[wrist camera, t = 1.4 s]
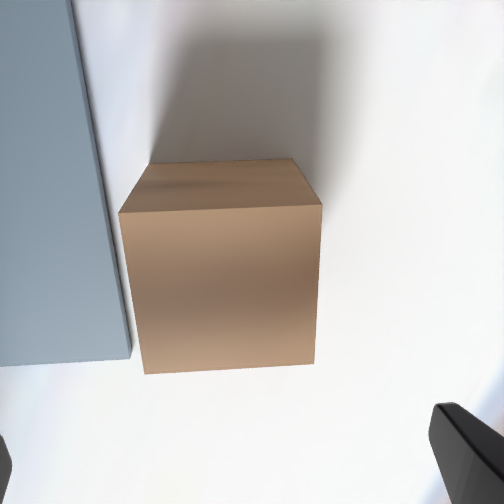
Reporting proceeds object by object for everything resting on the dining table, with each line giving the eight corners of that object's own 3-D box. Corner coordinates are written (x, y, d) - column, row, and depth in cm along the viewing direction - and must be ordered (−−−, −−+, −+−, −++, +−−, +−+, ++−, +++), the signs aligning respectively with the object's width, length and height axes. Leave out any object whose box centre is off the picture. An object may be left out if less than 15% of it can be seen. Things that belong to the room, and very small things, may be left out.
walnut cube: (289, 281, 21) (314, 364, 15) (164, 288, 20) (144, 374, 15) (292, 158, 18) (322, 204, 13) (149, 163, 18) (117, 213, 12)
